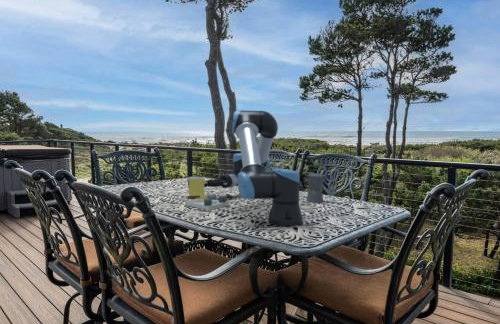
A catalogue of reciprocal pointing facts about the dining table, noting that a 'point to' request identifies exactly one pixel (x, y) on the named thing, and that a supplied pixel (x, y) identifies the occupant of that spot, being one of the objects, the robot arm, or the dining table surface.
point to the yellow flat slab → (199, 189)
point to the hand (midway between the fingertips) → (197, 185)
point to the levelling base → (201, 204)
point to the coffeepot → (314, 186)
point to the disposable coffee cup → (188, 185)
